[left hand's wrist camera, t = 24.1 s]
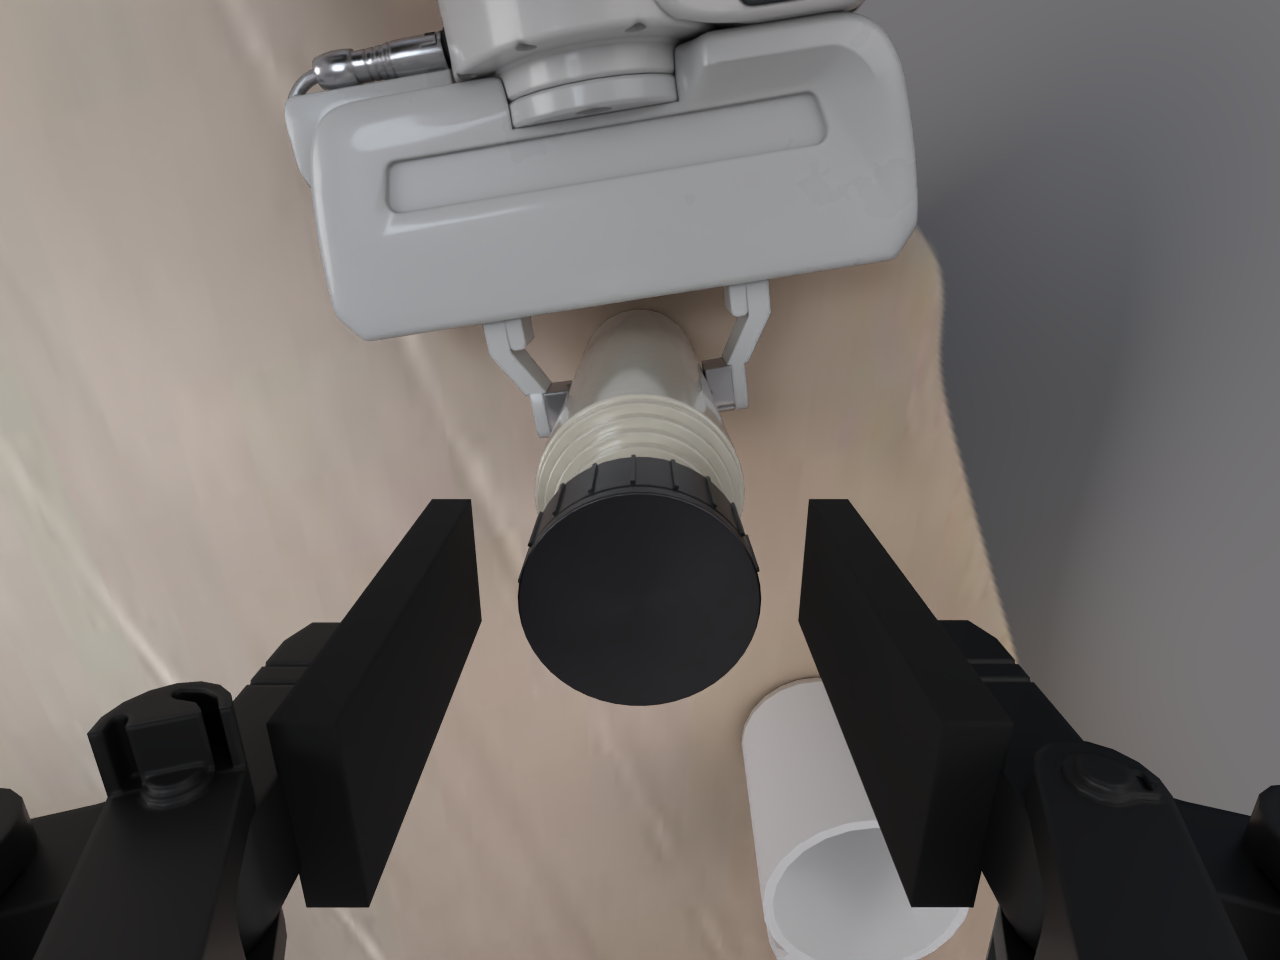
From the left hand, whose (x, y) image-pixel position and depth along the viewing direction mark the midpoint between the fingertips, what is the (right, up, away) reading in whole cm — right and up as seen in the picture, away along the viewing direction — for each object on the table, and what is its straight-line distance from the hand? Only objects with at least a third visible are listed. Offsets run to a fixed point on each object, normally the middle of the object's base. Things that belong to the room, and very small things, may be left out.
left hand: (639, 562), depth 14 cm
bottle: (0, +7, +19) cm, 20 cm away
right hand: (0, +4, +13) cm, 14 cm away
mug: (+9, -14, +26) cm, 31 cm away
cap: (0, 0, -1) cm, 1 cm away
